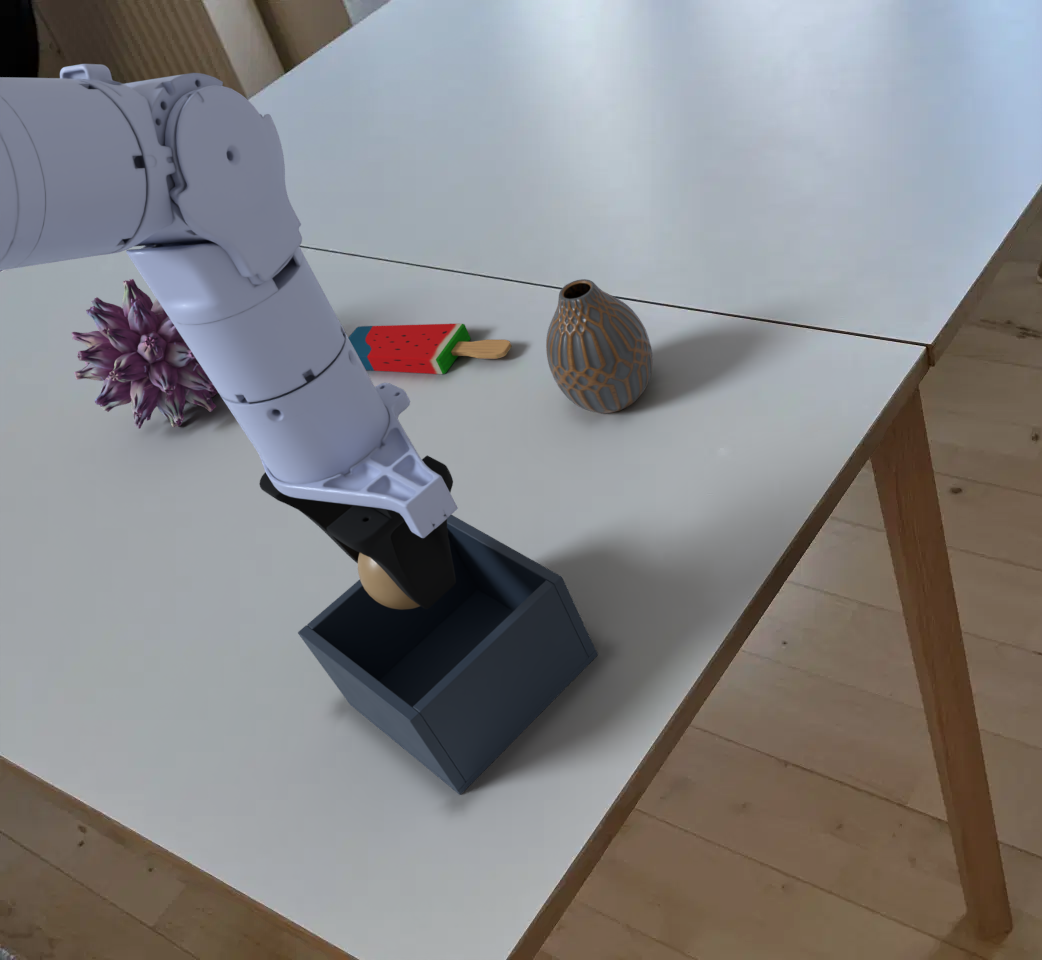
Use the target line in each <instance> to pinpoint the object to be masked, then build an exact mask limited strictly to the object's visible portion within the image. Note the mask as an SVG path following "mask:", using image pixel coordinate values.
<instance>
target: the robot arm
mask: <svg viewBox="0 0 1042 960" xmlns="http://www.w3.org/2000/svg"><path fill="white" fill-rule="evenodd" d="M285 165H286V164H285V157H284V151H283V146H282V142H281V138H280V135H279V131H278V130H277V127H276V125H275V122H274V120H273V118H272V116H271V114H269V113H265V114H264V115H263V114H262V113H260V112H259V111H258V110H257V109H256V107H255V106H254V105H253V104H252V103H251V101H249V99H247V98H246V97H245V96H244V95H243V94H241V93H239V92H238V91H237V90H235V89H233V88H232V87H228V86H224V81H223V80H220V79H219V78H217V77H215V76H212V75H209V74H207V73H206V74H205V73H200V72H189V73H184V74H183V73H182V74H177V75H170V76H163V77H158V78H157V77H156V78H151V79H145V80H138V81H132V82H126V83H125V82H124V83H122V82H120V81H116V80H113V77H112V73H111V70H110V69H109V67H108V66H106V65H105V64H102V63H101V64H99V63H98V64H95V63H80V64H75V65H69V66H64V67H62V68H61V69H60V71H59V77H49V78H48V77H10V76H9V77H7V76H6V77H3V76H2V77H1V76H0V272H1V271H6V270H14V269H19V268H26V267H33V266H38V265H45V264H52V263H59V262H65V261H70V260H71V261H72V260H77V259H84V258H91V257H97V256H105V255H113V254H117V253H118V254H119V253H121V252H124V251H125V253H126V255H127V256H128V258H129V259H130V261H131V262H132V264H133V265H134V267H135V268H136V269H137V271H138V273H139V274H140V276H141V277H142V279H143V280H144V282H145V283H146V285H147V286H148V288H149V289H150V291H151V292H152V294H153V295H154V297H155V299H156V298H157V300H158V301H159V303H160V304H161V306H162V308H163V309H164V311H165V312H166V314H167V315H168V316H169V318H170V320H171V321H172V323H173V324H174V326H175V327H176V329H177V330H178V332H179V333H180V335H181V336H182V338H183V339H184V341H185V342H186V344H187V345H188V347H189V349H190V350H191V352H192V353H193V355H194V356H195V358H196V359H197V361H198V362H199V364H200V365H201V367H202V368H203V370H204V371H205V373H206V374H207V376H208V377H209V379H210V380H211V382H212V383H213V385H214V387H215V388H216V390H217V394H219V396H220V398H221V399H222V400H223V403H224V404H225V405H226V407H227V408H228V409H229V411H230V412H231V414H232V415H233V417H234V419H235V420H236V422H237V423H238V425H239V426H240V428H241V429H242V431H243V433H244V434H245V436H246V437H247V439H248V440H249V442H250V443H251V445H252V446H253V447H254V449H255V450H256V452H257V453H258V456H259V458H260V461H261V464H262V467H263V469H264V473H263V474H262V475H261V477H260V479H259V487H260V489H261V491H263V492H264V493H266V494H267V495H269V496H270V497H272V498H274V499H275V500H276V501H279V502H280V503H283V504H286V505H287V506H290V507H292V508H294V509H295V510H298V511H299V512H300V513H302V514H303V515H304V516H306V517H307V518H308V519H309V520H311V521H312V523H314V524H315V525H316V526H317V527H319V529H321V530H322V532H324V533H325V534H326V535H327V536H328V537H329V538H330V539H331V540H332V541H333V542H334V543H335V544H336V545H337V546H338V547H339V548H340V549H341V550H342V551H343V552H344V554H346V555H347V556H348V557H349V558H350V559H351V560H352V561H353V562H355V563H356V564H357V565H358V557H359V553H362V554H364V555H366V556H368V557H370V558H371V559H373V560H374V561H375V562H376V563H377V564H378V565H379V566H380V567H381V568H382V569H383V570H384V571H385V572H386V573H387V574H388V576H389V577H390V578H391V579H392V580H393V581H394V582H395V584H396V585H397V586H398V587H399V588H400V589H401V590H402V591H403V592H404V593H405V594H406V595H407V596H408V597H409V598H410V599H411V600H413V601H414V602H415V603H417V604H418V605H420V606H421V607H423V608H424V609H428V608H429V607H431V606H432V605H433V604H434V603H435V602H436V601H437V600H438V599H439V598H441V597H442V596H443V595H444V594H445V593H446V592H447V591H448V590H449V589H450V588H452V587H453V586H454V585H455V583H456V579H455V572H454V566H453V561H452V556H451V551H450V545H449V539H448V531H447V518H448V517H449V516H450V515H453V514H454V513H455V512H456V511H457V510H458V509H459V507H458V505H457V504H456V501H455V499H454V498H453V496H452V494H451V492H452V488H453V485H454V480H453V477H452V474H451V471H450V470H449V468H448V466H447V465H446V464H445V463H443V462H441V461H439V460H437V459H436V458H433V457H431V456H430V455H425V456H424V457H423V458H421V456H420V454H419V453H418V451H417V449H416V448H415V446H414V444H413V443H412V441H411V439H410V438H409V437H410V436H409V435H408V434H407V433H406V430H405V429H404V427H403V425H402V424H401V422H400V420H399V416H400V414H402V413H403V412H404V411H405V410H407V409H408V408H409V406H410V405H411V400H410V397H409V396H408V394H407V391H405V390H404V389H403V388H401V387H398V386H397V385H394V384H393V383H390V382H382V383H379V384H377V385H376V386H375V385H374V383H373V381H372V379H371V377H370V375H369V374H368V372H367V371H368V370H365V368H364V366H363V364H362V362H361V360H360V358H359V357H358V355H357V353H356V351H355V349H354V347H353V346H352V344H351V342H350V340H349V336H348V335H347V333H346V331H345V329H344V327H343V325H342V323H341V321H340V319H339V318H338V315H337V314H336V311H335V309H334V308H333V306H332V305H331V303H330V301H329V299H328V297H327V295H326V294H325V291H324V290H323V288H322V286H321V283H320V282H319V280H318V279H317V277H316V275H315V273H314V270H313V269H312V268H311V265H310V264H309V262H308V260H307V258H306V256H305V254H304V252H303V251H302V248H301V244H302V243H303V236H302V233H301V231H300V227H301V226H302V223H301V221H300V219H299V217H298V215H297V213H296V211H295V210H294V208H293V206H292V203H291V200H290V199H289V196H288V191H287V185H286V166H285ZM133 247H140V248H133ZM132 248H133V249H132Z"/></svg>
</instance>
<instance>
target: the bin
mask: <svg viewBox="0 0 1042 960" xmlns="http://www.w3.org/2000/svg"><path fill="white" fill-rule="evenodd" d="M447 531H448V539H449V545H450V551H451V556H452V561H453V566H454V572H455V579H456V583H455V585H454V586H453V587H452V588H450V589H449V590H448V591H447V592H446V593H445V594H444V595H443V596H442V597H441V598H439V599H438V600H437V601H436V602H435V603H434V604H433V605H432V606H431V607H429V608H428V609H424V608H423V607H421V606H419V607H416V608H413V609H403V610H400V609H393V608H389V607H386V606H384V605H382V604H380V603H378V602H377V601H375V600H374V599H373V598H372V597H371V596H370V595H369V594H368V593H367V592H366V590H365V589H364V587H363V585H362V583H361V581H360V579H358V580H357V581H356V582H355V583H354V584H352V585H351V586H350V587H349V588H348V589H346V590H345V591H344V592H343V593H341V595H339V596H338V597H337V598H336V599H335V600H334V601H333V602H331V603H330V604H329V605H328V606H327V607H325V609H323V610H322V611H321V612H320V613H319V614H318V615H317V616H315V617H314V618H313V619H311V620H310V622H308V623H307V625H304V626H303V627H302V628H301V629H300V630H298V632H297V634H298V635H299V638H301V640H302V641H303V643H304V644H305V645H306V646H307V648H308V649H309V651H310V652H311V653H312V655H313V656H314V658H315V659H316V660H317V662H318V663H319V664H320V666H321V667H322V668H323V670H324V671H325V673H326V674H327V675H328V676H329V678H330V680H331V681H332V682H333V683H334V685H335V686H336V687H337V689H338V690H339V691H340V693H341V694H342V696H343V697H344V699H345V700H346V701H347V702H348V704H349V705H350V706H351V707H352V708H354V710H356V711H357V712H358V713H359V714H361V715H362V716H363V717H364V718H366V719H367V720H368V721H369V722H370V723H372V724H373V725H374V726H375V727H377V729H379V730H380V731H381V732H382V733H384V734H385V735H386V736H388V737H389V738H390V739H391V740H392V741H394V743H396V744H397V745H398V746H400V747H401V748H402V749H403V750H404V751H406V752H407V753H408V754H409V755H410V756H412V757H413V758H414V759H416V761H418V762H419V763H420V764H422V765H423V766H424V767H425V768H426V769H428V770H429V772H431V773H433V774H434V775H435V776H436V777H437V778H438V779H440V780H441V781H442V782H443V783H445V784H446V785H447V786H448V787H450V789H452V790H453V791H455V793H457V794H458V795H459V796H461V795H463V793H464V792H465V791H466V790H467V789H468V788H469V787H470V786H471V785H472V784H473V783H474V782H475V781H476V780H477V779H478V778H479V777H480V776H481V775H482V774H483V773H484V772H485V771H486V770H487V769H488V768H489V767H490V766H491V765H492V763H494V761H496V759H497V758H498V757H500V755H502V753H503V752H504V751H505V750H506V749H507V748H508V747H509V746H510V745H512V744H513V742H514V741H515V740H516V739H517V738H518V737H519V736H520V735H521V734H522V733H523V732H524V731H525V730H526V729H527V728H528V727H529V726H530V725H531V724H532V723H533V722H534V721H535V720H536V719H537V718H538V717H539V716H540V715H541V714H542V712H544V711H545V709H547V708H548V707H549V706H550V704H551V703H552V702H553V701H554V700H556V698H557V697H558V696H559V695H560V694H562V693H563V691H564V690H565V689H566V688H567V687H568V686H569V685H570V684H571V683H572V682H573V681H574V680H575V679H576V678H577V677H578V676H579V675H581V673H582V672H583V671H584V670H585V669H586V668H587V667H588V666H589V664H591V663H592V661H594V659H596V658H597V657H598V656H599V654H598V651H597V650H596V648H595V645H594V643H593V641H592V639H591V637H590V635H589V632H588V630H587V628H586V626H585V624H584V621H583V620H582V617H581V615H580V613H579V610H578V609H577V606H576V604H575V602H574V600H573V597H572V596H571V593H570V592H569V591H570V590H569V589H568V587H567V585H566V582H565V581H564V578H563V576H562V575H560V574H558V573H556V572H555V571H553V570H551V569H549V568H547V567H546V566H544V565H543V564H540V563H539V562H537V561H535V560H533V559H532V558H530V557H528V556H527V555H524V554H523V553H522V552H519V551H517V550H515V549H513V548H512V547H510V546H509V545H507V544H504V543H503V542H501V541H500V540H498V539H496V538H494V537H492V536H491V535H489V534H487V533H486V532H484V531H481V530H480V529H478V528H477V527H474V526H473V525H471V524H469V523H467V522H465V521H464V520H462V519H461V518H459V517H457V516H455V515H453V514H451V515H450V516H449V517H448V518H447Z"/></svg>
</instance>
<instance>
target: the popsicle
mask: <svg viewBox="0 0 1042 960" xmlns="http://www.w3.org/2000/svg"><path fill="white" fill-rule="evenodd" d="M348 338H349V340H350V342H351V344H352V346H353V347H354V349H355V351H356V353H357V355H358V357H359V358H360V360H361V362H362V364H363V366H364V368H365V370H366V371H375V372H394V373H411V374H412V373H413V374H431V375H432V374H433V375H445V374H447V373H448V371H449V370H450V368H451V367H452V366H453V364H454V363H455V361H456V360H457V359H458V358H459V357H461V356H463V357H471V358H475V359H492V360H493V359H500V358H504V357H505V356H507V354H508V353H509V351H510V350H511V348H512V344H511V342H510V341H509V340H507V339H481V340H475V341H470V340H471V339H472V338H471V335H470V333H469V331H468V329H467V327H466V324H465V323H460V322H459V323H435V324H434V323H426V324H425V323H424V324H395V325H393V324H392V325H361V326H357V327H356V328H355V329H354V330H353V331H352V333H351V334H350V335H349V336H348Z"/></svg>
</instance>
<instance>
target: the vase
mask: <svg viewBox="0 0 1042 960" xmlns="http://www.w3.org/2000/svg"><path fill="white" fill-rule="evenodd" d="M545 341H546V343H545V345H546V346H545V348H546V349H545V350H546V358H547V365H548V367H549V370H550V372H551V375H552V377H553V380H554V381H555V383H556V385H557V387H558V388H559V390H560V391H561V393H562V394H563V395H564V396H565V397H566V398H567V399H568V400H569V401H570V402H572V403H573V404H574V405H575V406H577V407H579V408H581V409H583V410H586V411H589V412H592V413H597V414H612V413H617V412H620V411H622V410H625V409H626V408H628V407H630V406H632V405H633V404H634V403H635V402H637V400H638V399H639V398H640V397H641V395H642V394H643V393H644V392H645V391H646V389H647V387H648V384H649V382H650V380H651V377H652V372H653V361H654V359H653V350H652V349H653V348H652V344H651V342H650V338H649V334H648V332H647V329H646V327H645V326H644V324H643V322H642V320H641V318H640V317H639V316H638V314H636V312H635V311H634V310H633V308H631V306H629V305H628V304H627V303H625V302H624V301H623V300H621V299H620V298H617V297H615V296H614V295H611V294H610V293H607V292H606V291H604V290H602V289H601V287H599V286H598V285H597V284H596V283H595V282H594V281H592V280H590V279H585V278H584V279H583V278H582V279H575V280H572V281H570V282H568V283H566V284H565V285H564V286H563V287H562V288H561V289H560V291H559V293H558V300H557V306H556V309H555V311H554V313H553V316H552V318H551V320H550V322H549V326H548V330H547V333H546V340H545Z"/></svg>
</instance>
